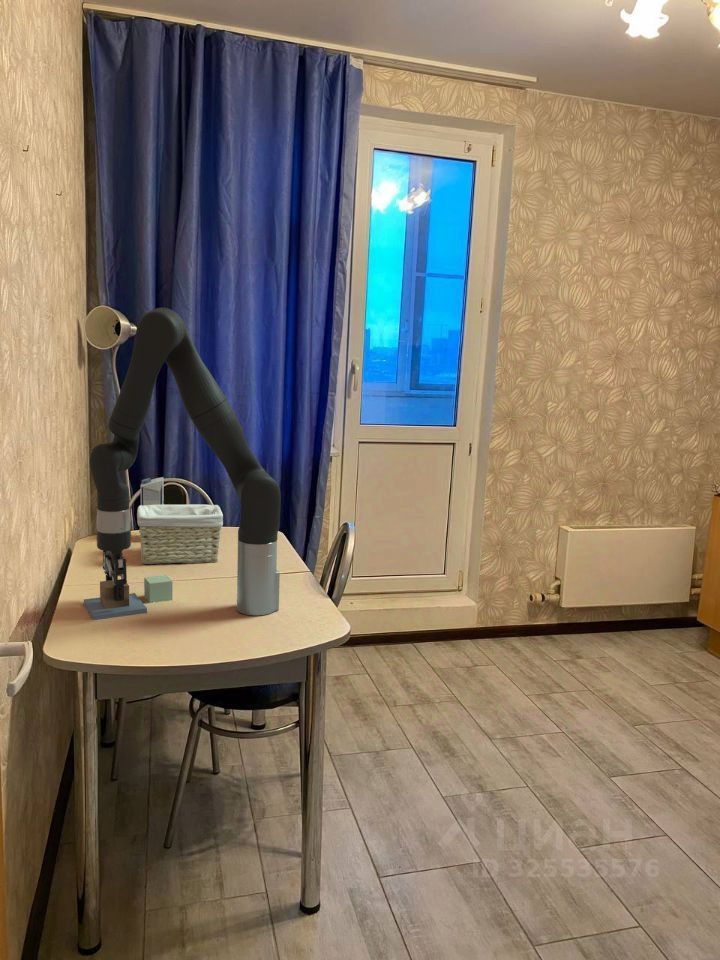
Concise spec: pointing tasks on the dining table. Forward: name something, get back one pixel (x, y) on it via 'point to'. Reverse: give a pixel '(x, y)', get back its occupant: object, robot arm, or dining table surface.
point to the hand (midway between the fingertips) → (114, 594)
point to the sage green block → (158, 588)
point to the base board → (100, 612)
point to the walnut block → (108, 596)
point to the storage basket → (179, 533)
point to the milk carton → (152, 491)
